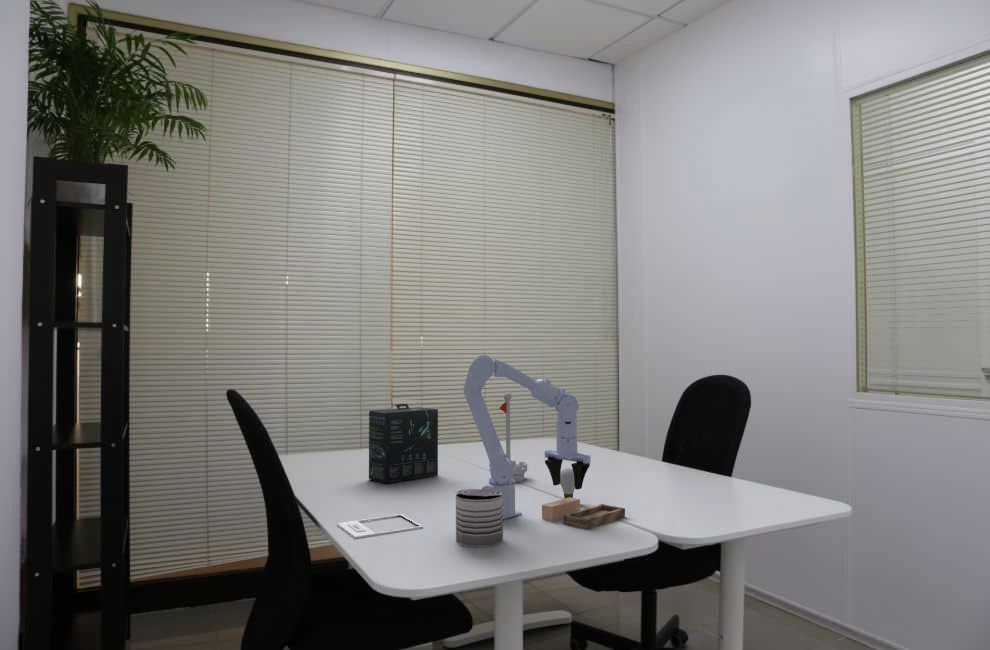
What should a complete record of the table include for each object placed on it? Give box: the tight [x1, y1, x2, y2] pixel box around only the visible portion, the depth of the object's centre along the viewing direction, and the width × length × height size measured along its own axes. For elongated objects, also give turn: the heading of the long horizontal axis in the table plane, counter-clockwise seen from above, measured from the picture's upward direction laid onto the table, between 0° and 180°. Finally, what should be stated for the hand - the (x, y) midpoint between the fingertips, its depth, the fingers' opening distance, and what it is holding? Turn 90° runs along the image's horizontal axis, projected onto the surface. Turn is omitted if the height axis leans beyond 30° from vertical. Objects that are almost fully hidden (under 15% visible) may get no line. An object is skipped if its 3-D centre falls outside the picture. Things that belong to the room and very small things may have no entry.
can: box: [454, 488, 504, 549], centre depth 163 cm, size 11×11×12 cm
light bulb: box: [560, 467, 576, 499], centre depth 201 cm, size 6×6×10 cm
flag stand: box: [489, 391, 528, 483], centre depth 236 cm, size 13×13×30 cm
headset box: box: [368, 403, 439, 484], centre depth 241 cm, size 22×12×26 cm, turn 133°
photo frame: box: [336, 513, 424, 539], centre depth 176 cm, size 15×1×18 cm
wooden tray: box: [562, 503, 626, 530], centre depth 180 cm, size 17×8×2 cm, turn 135°
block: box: [541, 497, 581, 522], centre depth 185 cm, size 12×4×4 cm, turn 135°
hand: (567, 486), depth 187 cm, fingers open, 7 cm apart
